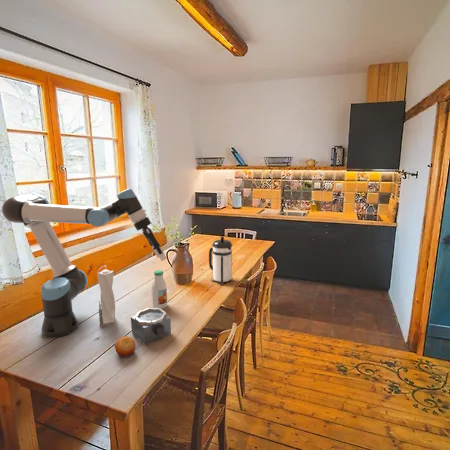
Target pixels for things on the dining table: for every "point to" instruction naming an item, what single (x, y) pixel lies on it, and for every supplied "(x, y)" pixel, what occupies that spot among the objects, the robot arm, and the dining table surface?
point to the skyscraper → (106, 297)
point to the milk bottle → (159, 291)
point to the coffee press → (221, 260)
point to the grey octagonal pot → (150, 324)
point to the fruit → (125, 346)
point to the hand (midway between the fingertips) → (162, 258)
